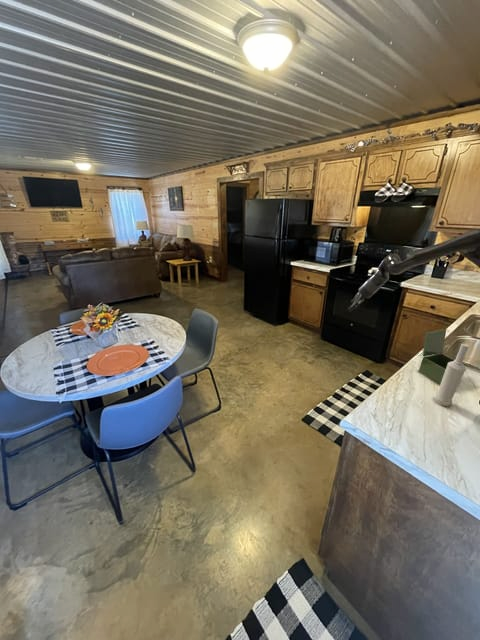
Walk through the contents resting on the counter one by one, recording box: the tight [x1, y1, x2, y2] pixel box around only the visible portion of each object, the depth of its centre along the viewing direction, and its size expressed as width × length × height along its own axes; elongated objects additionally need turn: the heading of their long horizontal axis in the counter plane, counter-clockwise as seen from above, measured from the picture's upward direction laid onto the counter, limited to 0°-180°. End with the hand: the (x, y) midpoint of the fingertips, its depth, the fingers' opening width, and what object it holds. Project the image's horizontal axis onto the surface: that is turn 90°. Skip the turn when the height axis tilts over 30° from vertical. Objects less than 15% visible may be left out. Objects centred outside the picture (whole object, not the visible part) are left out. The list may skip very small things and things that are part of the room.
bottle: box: [434, 343, 470, 407], centre depth 95 cm, size 5×5×25 cm
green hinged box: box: [418, 353, 466, 386], centre depth 114 cm, size 10×11×8 cm
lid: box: [422, 328, 447, 358], centre depth 115 cm, size 11×11×1 cm
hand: (350, 306), depth 151 cm, fingers open, 8 cm apart
